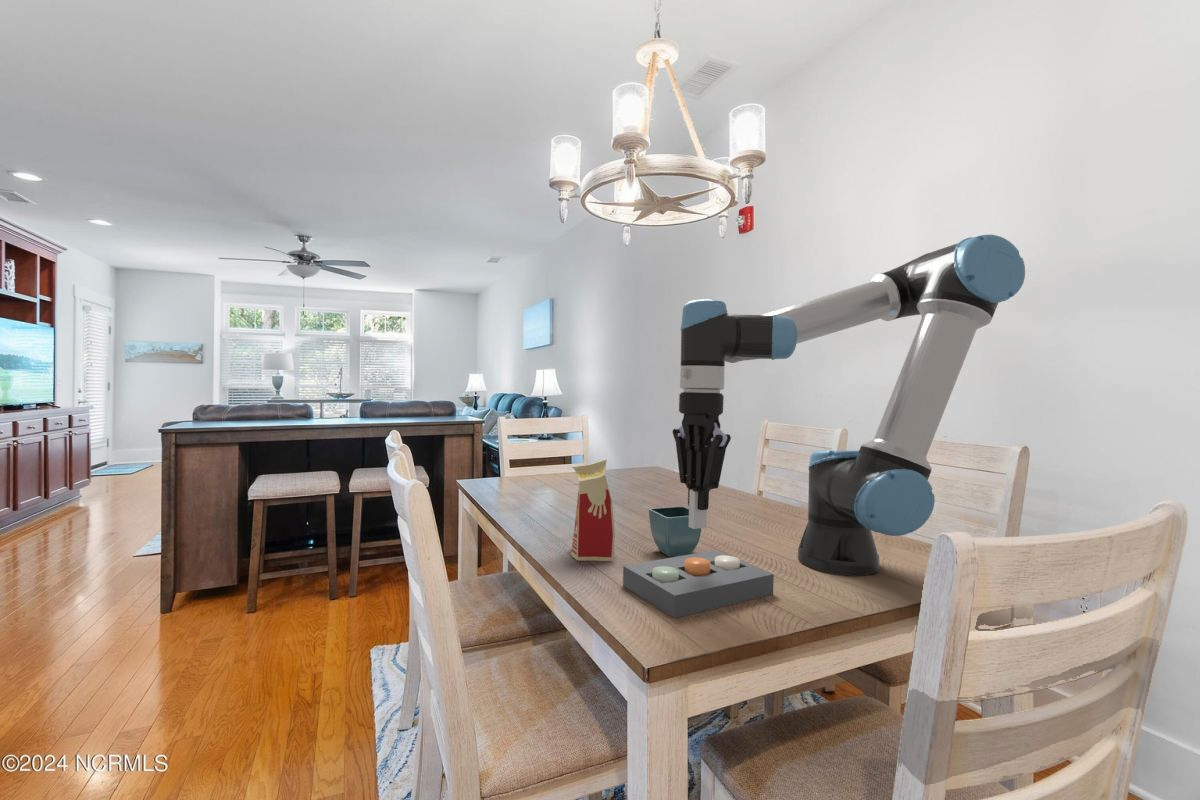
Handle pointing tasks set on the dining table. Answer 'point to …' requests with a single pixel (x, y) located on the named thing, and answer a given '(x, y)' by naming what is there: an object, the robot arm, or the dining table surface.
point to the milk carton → (593, 515)
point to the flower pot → (673, 530)
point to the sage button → (665, 574)
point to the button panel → (697, 585)
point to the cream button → (727, 562)
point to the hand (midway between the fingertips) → (697, 527)
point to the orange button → (697, 566)
